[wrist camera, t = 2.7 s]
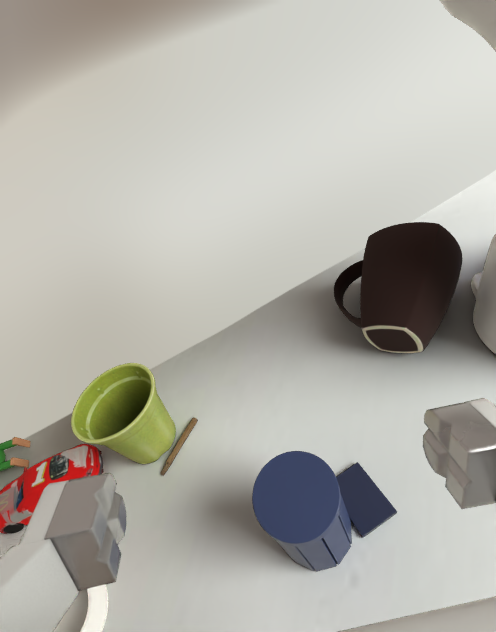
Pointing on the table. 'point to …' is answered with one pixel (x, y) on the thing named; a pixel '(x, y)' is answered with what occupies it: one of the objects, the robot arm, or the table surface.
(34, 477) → the race car
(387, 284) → the mug
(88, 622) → the hook
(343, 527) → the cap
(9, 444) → the figurine
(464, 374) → the table surface
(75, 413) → the plant pot
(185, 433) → the stick
